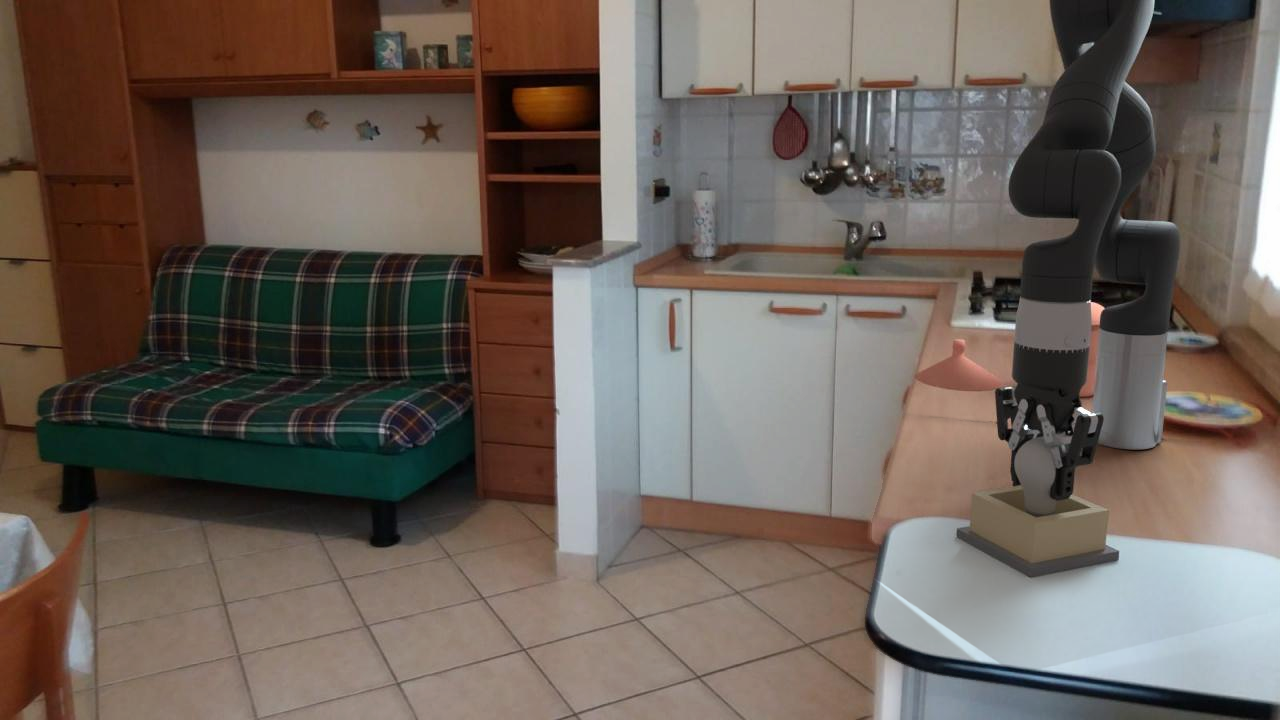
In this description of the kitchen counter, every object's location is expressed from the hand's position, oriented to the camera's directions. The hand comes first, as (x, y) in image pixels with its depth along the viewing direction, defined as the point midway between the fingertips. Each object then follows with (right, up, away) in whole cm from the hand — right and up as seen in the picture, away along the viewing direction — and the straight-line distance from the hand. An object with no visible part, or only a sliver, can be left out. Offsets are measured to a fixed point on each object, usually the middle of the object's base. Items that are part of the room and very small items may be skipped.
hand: (1039, 489), depth 113 cm
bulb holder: (0, -7, +1) cm, 7 cm away
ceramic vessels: (+20, +8, +71) cm, 74 cm away
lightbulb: (0, -5, +1) cm, 5 cm away
